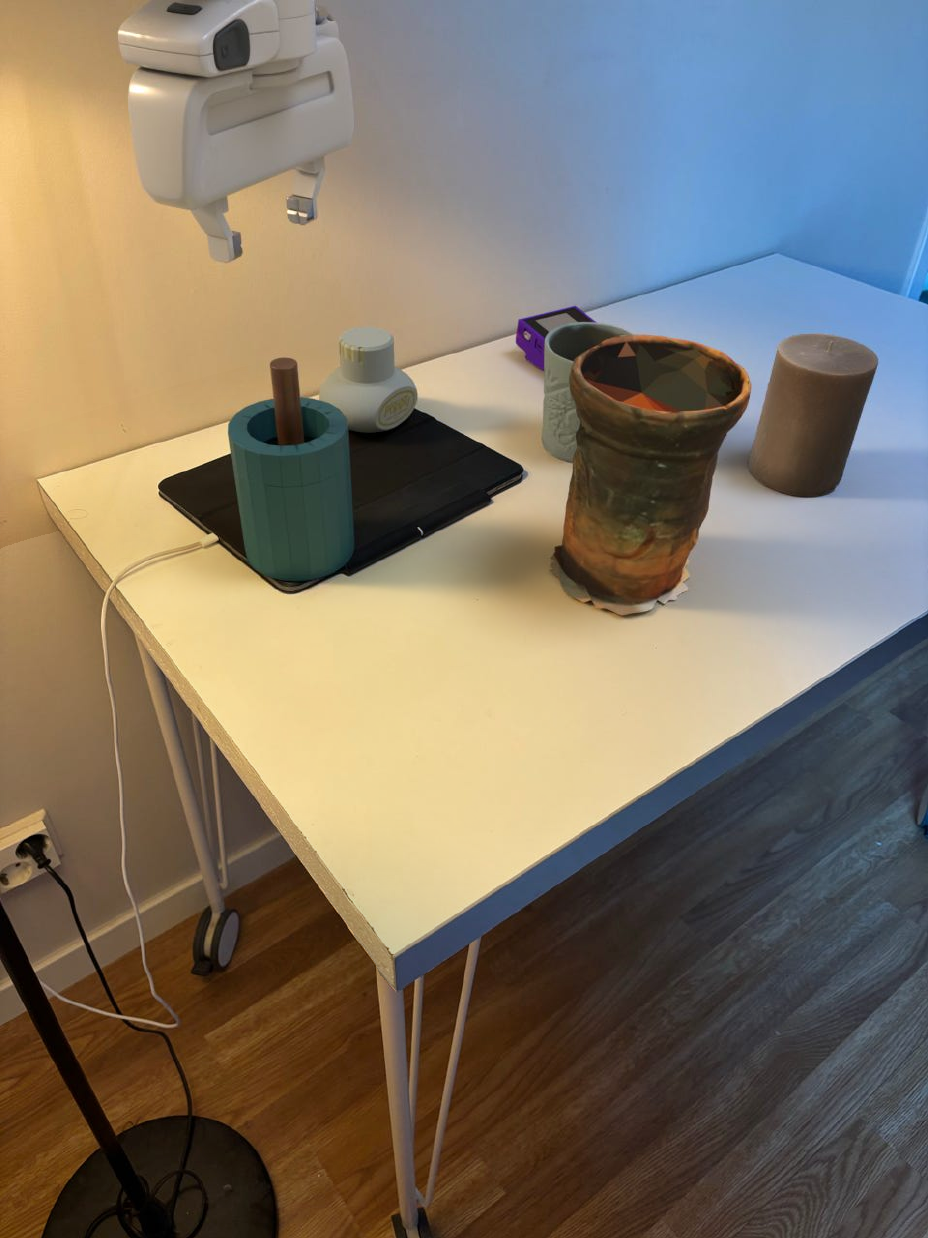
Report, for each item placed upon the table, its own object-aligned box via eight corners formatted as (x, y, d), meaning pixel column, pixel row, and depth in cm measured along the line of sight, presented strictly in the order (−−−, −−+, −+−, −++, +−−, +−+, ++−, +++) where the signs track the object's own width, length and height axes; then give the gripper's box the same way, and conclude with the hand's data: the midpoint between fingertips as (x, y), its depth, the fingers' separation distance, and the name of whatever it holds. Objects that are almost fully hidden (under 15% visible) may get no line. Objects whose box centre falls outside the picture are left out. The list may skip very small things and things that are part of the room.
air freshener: (373, 392, 113) (371, 310, 107) (428, 414, 109) (428, 330, 103) (309, 427, 106) (301, 342, 100) (364, 451, 103) (360, 365, 96)
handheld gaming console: (591, 376, 110) (518, 316, 118) (583, 414, 114) (512, 353, 122) (652, 359, 114) (577, 301, 122) (642, 396, 118) (570, 338, 126)
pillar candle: (848, 500, 98) (896, 365, 89) (753, 494, 99) (790, 358, 89) (828, 452, 106) (870, 322, 96) (740, 446, 106) (772, 316, 96)
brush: (270, 548, 88) (248, 366, 76) (295, 526, 91) (277, 348, 79) (307, 560, 87) (289, 378, 75) (331, 538, 90) (317, 359, 78)
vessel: (736, 596, 86) (793, 393, 73) (598, 635, 81) (633, 426, 68) (650, 512, 96) (686, 320, 83) (522, 543, 91) (540, 344, 78)
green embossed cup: (589, 414, 111) (602, 314, 103) (646, 454, 104) (664, 350, 96) (517, 435, 106) (525, 333, 99) (571, 478, 100) (584, 372, 92)
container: (223, 560, 87) (203, 435, 79) (287, 507, 94) (274, 386, 86) (315, 594, 84) (304, 467, 76) (374, 536, 91) (369, 414, 83)
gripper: (297, -5, 69) (309, 195, 78) (95, 34, 55) (139, 273, 64) (372, 5, 67) (376, 209, 76) (182, 48, 53) (215, 293, 62)
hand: (266, 239), depth 70 cm, fingers open, 8 cm apart
